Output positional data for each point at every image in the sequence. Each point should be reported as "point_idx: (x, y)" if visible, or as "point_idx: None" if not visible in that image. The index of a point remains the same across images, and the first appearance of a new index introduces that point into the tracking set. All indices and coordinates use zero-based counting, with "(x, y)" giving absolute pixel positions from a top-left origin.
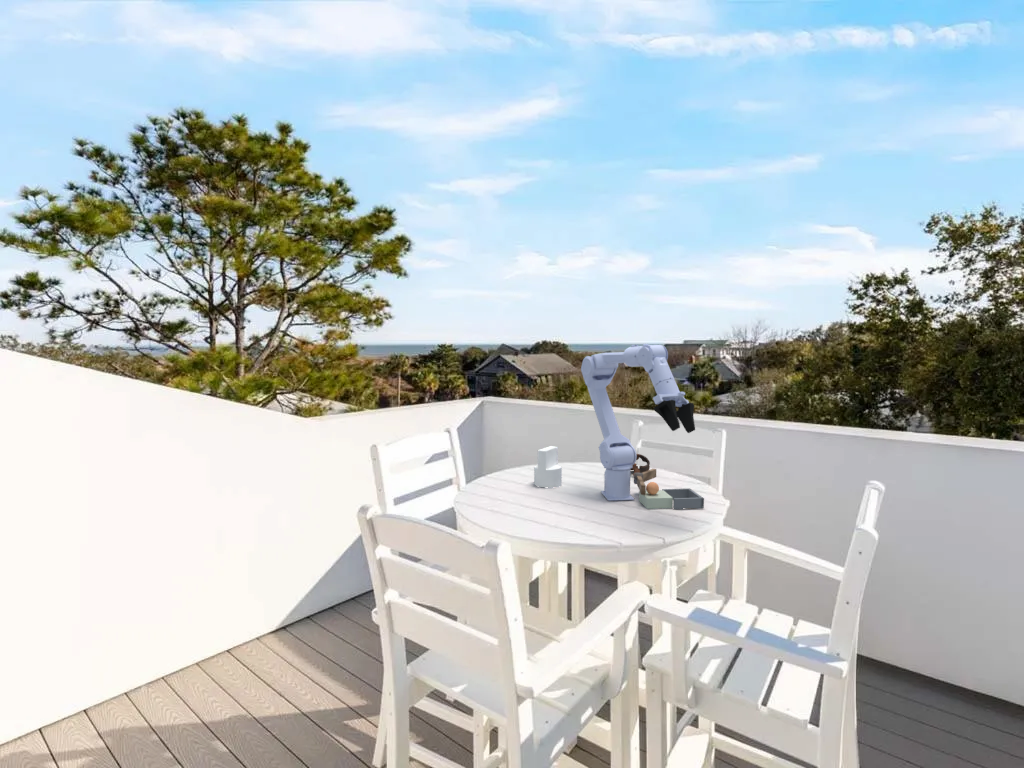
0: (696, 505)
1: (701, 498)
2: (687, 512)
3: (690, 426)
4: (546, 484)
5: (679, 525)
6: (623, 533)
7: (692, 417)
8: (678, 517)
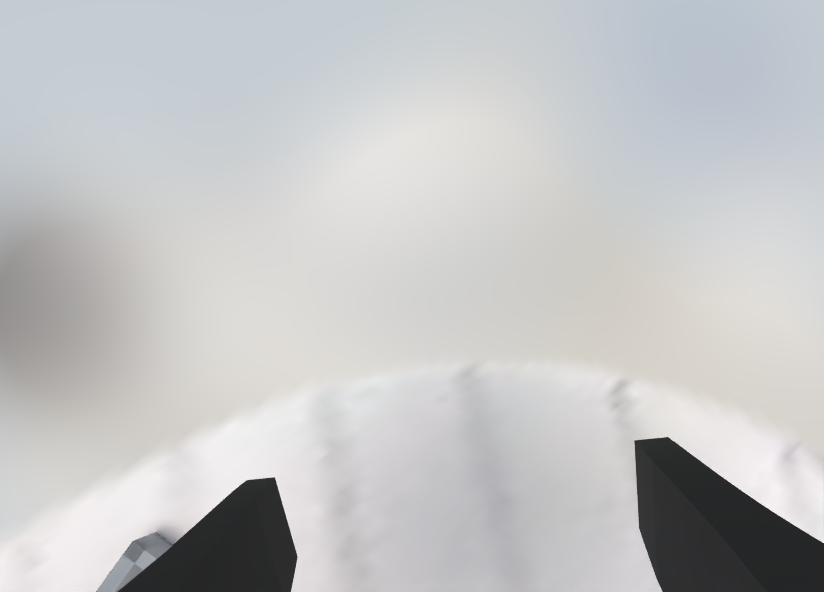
0: None
1: (143, 549)
2: None
3: (264, 543)
4: None
5: (446, 448)
6: None
7: (155, 586)
8: (359, 522)
